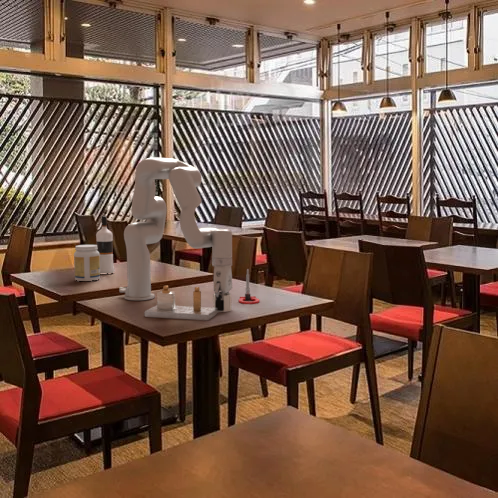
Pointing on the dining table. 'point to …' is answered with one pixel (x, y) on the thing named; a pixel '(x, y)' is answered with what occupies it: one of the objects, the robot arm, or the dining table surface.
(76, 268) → the supplement tub
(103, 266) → the vodka
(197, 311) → the white tray with jars
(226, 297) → the sleeve
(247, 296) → the grey tall post
